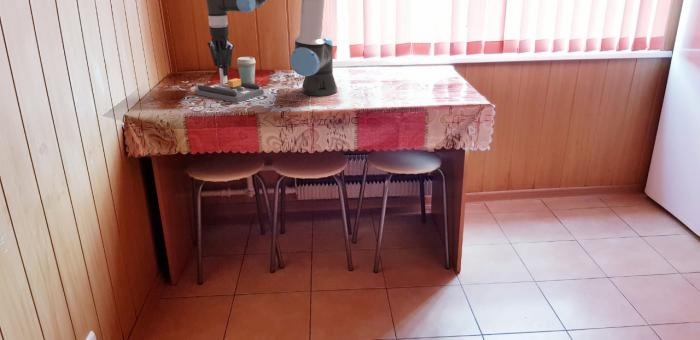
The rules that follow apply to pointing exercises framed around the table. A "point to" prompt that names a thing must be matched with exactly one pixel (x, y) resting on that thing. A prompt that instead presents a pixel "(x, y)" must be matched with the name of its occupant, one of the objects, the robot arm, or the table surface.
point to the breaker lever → (234, 83)
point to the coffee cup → (246, 69)
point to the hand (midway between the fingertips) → (224, 82)
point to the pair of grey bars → (228, 92)
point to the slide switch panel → (241, 95)
